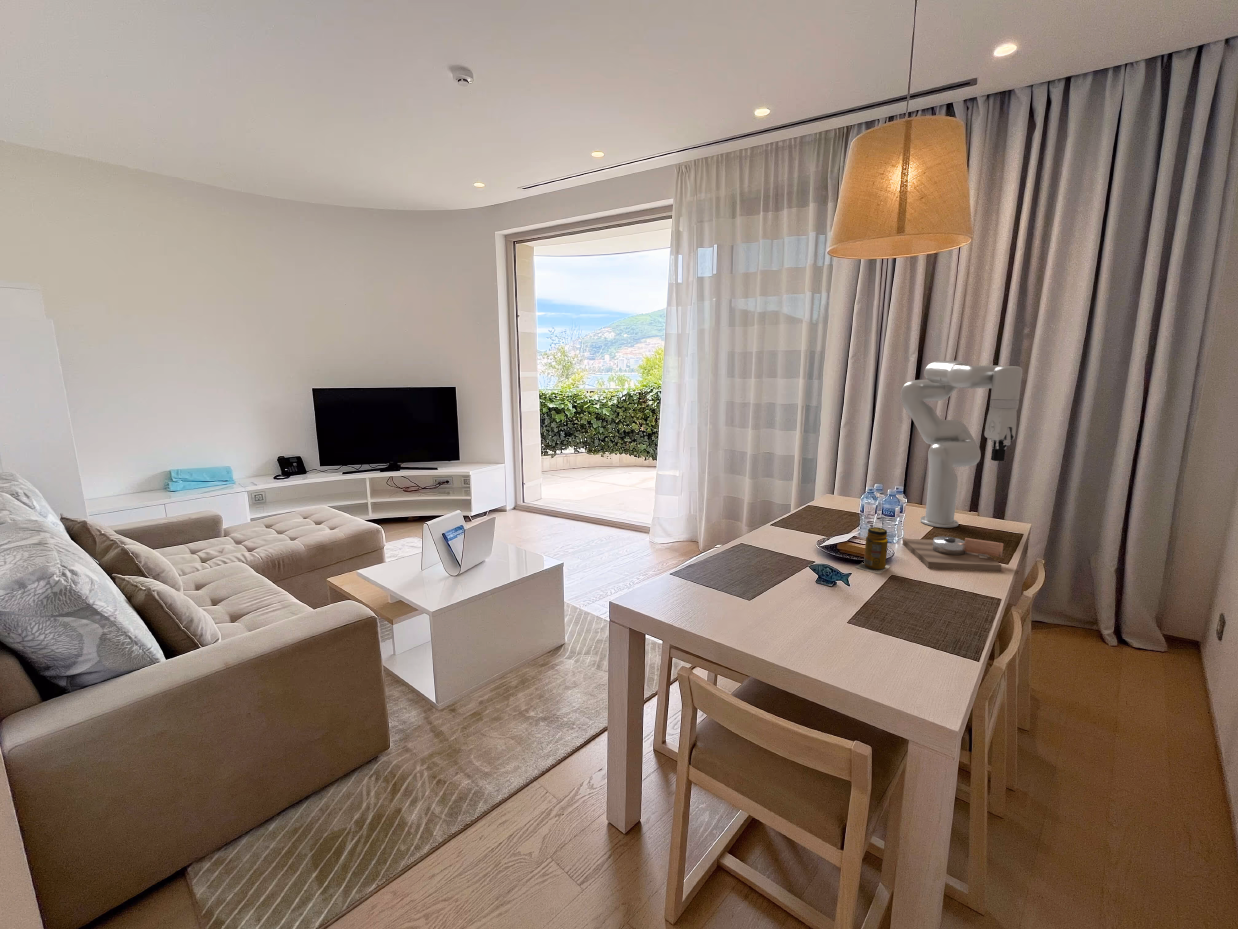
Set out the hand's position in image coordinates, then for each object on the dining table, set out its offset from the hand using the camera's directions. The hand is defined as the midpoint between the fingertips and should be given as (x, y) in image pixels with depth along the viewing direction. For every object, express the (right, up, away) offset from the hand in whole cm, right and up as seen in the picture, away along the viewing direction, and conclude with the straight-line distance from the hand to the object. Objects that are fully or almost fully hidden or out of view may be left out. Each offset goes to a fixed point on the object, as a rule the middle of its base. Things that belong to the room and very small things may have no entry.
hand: (997, 460), depth 176 cm
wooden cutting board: (-20, -31, -5) cm, 37 cm away
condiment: (-47, -33, -13) cm, 59 cm away
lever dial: (-16, -29, -8) cm, 34 cm away
